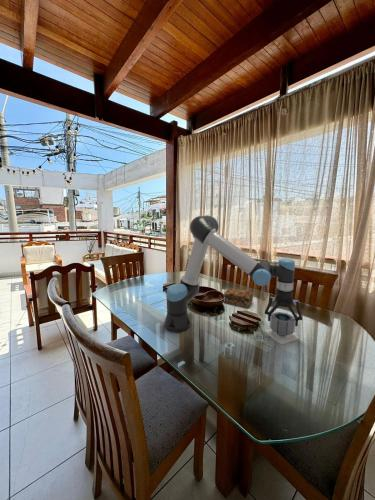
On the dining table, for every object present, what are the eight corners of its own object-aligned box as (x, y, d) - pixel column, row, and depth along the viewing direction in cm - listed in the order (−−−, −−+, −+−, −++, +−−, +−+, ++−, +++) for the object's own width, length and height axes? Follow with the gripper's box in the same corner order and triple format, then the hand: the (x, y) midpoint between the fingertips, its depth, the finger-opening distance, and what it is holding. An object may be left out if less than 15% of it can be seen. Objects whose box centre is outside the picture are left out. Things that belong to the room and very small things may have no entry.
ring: (281, 336, 107) (282, 323, 106) (266, 326, 117) (267, 314, 116) (297, 332, 111) (298, 319, 110) (282, 322, 121) (282, 310, 119)
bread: (253, 303, 154) (253, 290, 153) (248, 309, 145) (249, 295, 144) (228, 298, 164) (228, 285, 162) (222, 303, 155) (223, 290, 154)
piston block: (281, 344, 107) (282, 331, 106) (264, 332, 118) (265, 320, 117) (299, 339, 111) (300, 326, 110) (281, 327, 122) (282, 316, 121)
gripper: (260, 288, 111) (258, 327, 115) (311, 295, 102) (307, 337, 106) (261, 284, 118) (259, 321, 122) (309, 289, 109) (305, 329, 113)
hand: (281, 328), depth 114 cm, fingers closed on ring, 10 cm apart
